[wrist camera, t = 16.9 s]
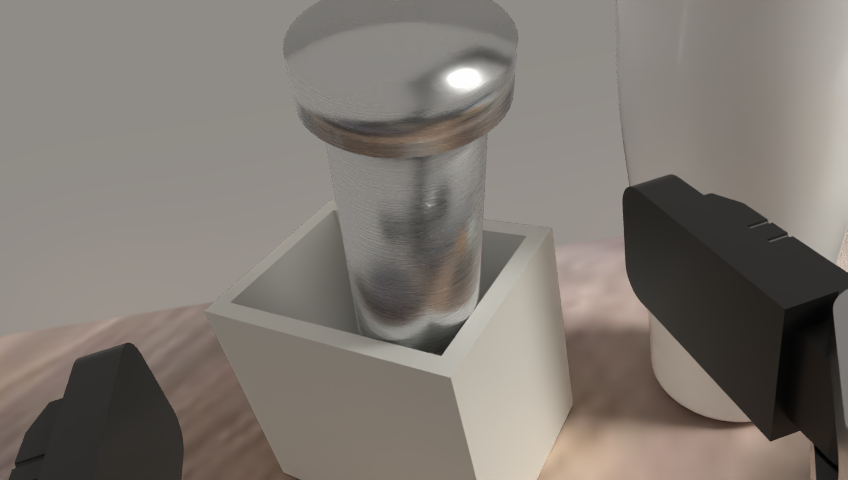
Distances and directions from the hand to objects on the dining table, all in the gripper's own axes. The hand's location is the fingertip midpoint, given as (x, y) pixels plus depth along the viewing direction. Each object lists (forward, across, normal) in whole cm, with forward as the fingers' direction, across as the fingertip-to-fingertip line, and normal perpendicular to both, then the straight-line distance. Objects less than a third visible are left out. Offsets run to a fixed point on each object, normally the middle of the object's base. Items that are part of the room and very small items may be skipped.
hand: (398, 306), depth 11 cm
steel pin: (+9, 0, +12) cm, 14 cm away
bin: (+9, 0, +13) cm, 16 cm away
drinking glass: (+7, -11, +13) cm, 19 cm away
